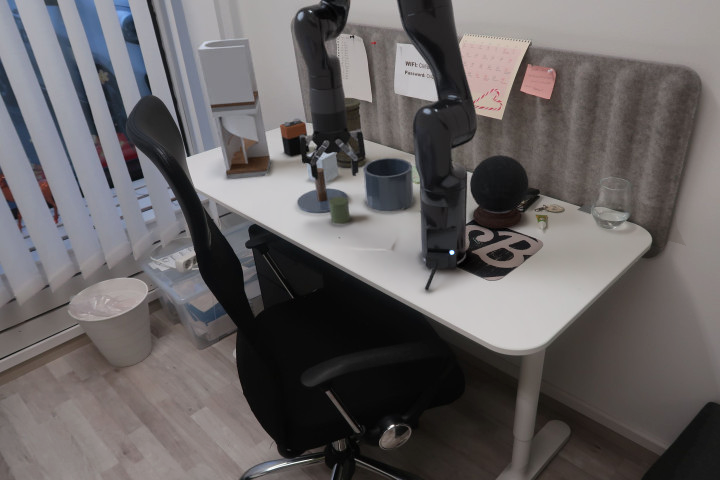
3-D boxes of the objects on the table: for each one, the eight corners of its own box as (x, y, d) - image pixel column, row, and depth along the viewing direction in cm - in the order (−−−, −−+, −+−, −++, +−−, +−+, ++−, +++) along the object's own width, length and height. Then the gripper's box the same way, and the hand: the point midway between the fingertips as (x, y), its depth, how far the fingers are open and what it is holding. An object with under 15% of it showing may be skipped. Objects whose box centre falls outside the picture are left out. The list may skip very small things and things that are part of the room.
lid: (341, 216, 136) (337, 181, 130) (291, 214, 138) (285, 180, 132) (353, 193, 146) (349, 160, 141) (306, 191, 148) (301, 159, 143)
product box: (339, 176, 155) (336, 152, 151) (325, 185, 151) (322, 159, 147) (322, 172, 158) (319, 148, 154) (308, 180, 154) (304, 155, 150)
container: (361, 169, 159) (356, 106, 149) (332, 167, 161) (324, 106, 151) (369, 157, 167) (364, 97, 157) (340, 156, 168) (334, 96, 159)
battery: (310, 151, 173) (305, 119, 167) (290, 157, 169) (285, 125, 164) (302, 147, 176) (298, 116, 170) (283, 153, 172) (278, 121, 167)
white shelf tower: (227, 178, 158) (197, 49, 139) (232, 164, 167) (204, 41, 147) (267, 175, 159) (243, 46, 140) (270, 161, 168) (248, 38, 148)
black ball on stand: (476, 201, 139) (478, 144, 131) (529, 208, 135) (535, 149, 127) (463, 226, 129) (464, 166, 120) (520, 234, 124) (525, 172, 116)
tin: (347, 226, 131) (345, 205, 128) (329, 225, 132) (327, 204, 129) (351, 217, 135) (349, 196, 132) (334, 216, 135) (331, 196, 132)
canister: (409, 213, 135) (407, 177, 130) (362, 212, 137) (358, 176, 132) (415, 192, 145) (414, 158, 140) (371, 191, 147) (369, 157, 141)
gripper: (295, 115, 114) (305, 187, 123) (363, 108, 116) (368, 180, 125) (293, 104, 120) (303, 173, 129) (359, 98, 122) (364, 167, 131)
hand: (335, 176), depth 127 cm, fingers open, 8 cm apart
